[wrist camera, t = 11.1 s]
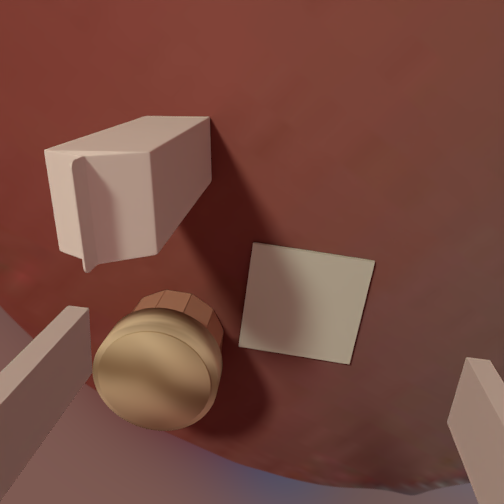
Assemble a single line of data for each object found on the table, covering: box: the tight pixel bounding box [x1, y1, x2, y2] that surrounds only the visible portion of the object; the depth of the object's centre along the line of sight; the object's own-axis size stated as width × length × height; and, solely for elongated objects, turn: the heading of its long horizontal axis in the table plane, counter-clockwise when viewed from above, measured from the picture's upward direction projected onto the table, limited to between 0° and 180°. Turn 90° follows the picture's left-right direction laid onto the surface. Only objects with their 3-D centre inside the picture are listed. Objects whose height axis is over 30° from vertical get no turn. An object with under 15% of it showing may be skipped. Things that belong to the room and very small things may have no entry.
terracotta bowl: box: [131, 290, 224, 351], centre depth 49 cm, size 10×10×6 cm
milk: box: [44, 116, 212, 273], centre depth 34 cm, size 6×6×22 cm
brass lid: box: [93, 307, 223, 431], centre depth 45 cm, size 12×12×4 cm
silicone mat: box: [238, 242, 375, 364], centre depth 49 cm, size 12×12×1 cm
